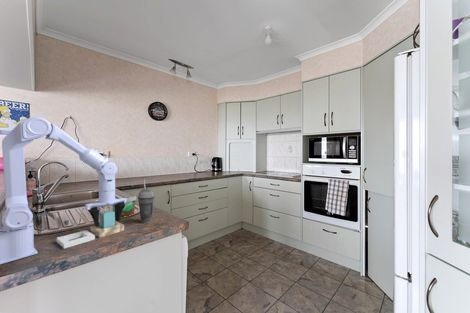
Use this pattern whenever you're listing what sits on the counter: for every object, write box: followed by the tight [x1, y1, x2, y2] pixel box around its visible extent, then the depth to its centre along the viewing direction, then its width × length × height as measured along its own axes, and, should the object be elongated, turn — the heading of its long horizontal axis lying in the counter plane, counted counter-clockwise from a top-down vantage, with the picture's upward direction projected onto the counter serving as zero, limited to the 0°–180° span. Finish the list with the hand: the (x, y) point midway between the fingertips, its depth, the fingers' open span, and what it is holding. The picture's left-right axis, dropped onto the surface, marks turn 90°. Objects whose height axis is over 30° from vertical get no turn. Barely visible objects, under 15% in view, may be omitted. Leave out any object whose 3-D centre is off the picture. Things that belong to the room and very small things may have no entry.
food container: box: [111, 195, 138, 217], centre depth 101 cm, size 12×6×10 cm, turn 105°
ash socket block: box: [90, 221, 125, 239], centre depth 82 cm, size 9×9×2 cm
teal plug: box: [99, 210, 115, 229], centre depth 82 cm, size 4×4×8 cm
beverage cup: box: [137, 179, 155, 224], centre depth 94 cm, size 7×7×20 cm
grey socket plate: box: [56, 229, 96, 249], centre depth 73 cm, size 9×9×2 cm
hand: (107, 223), depth 82 cm, fingers open, 7 cm apart
